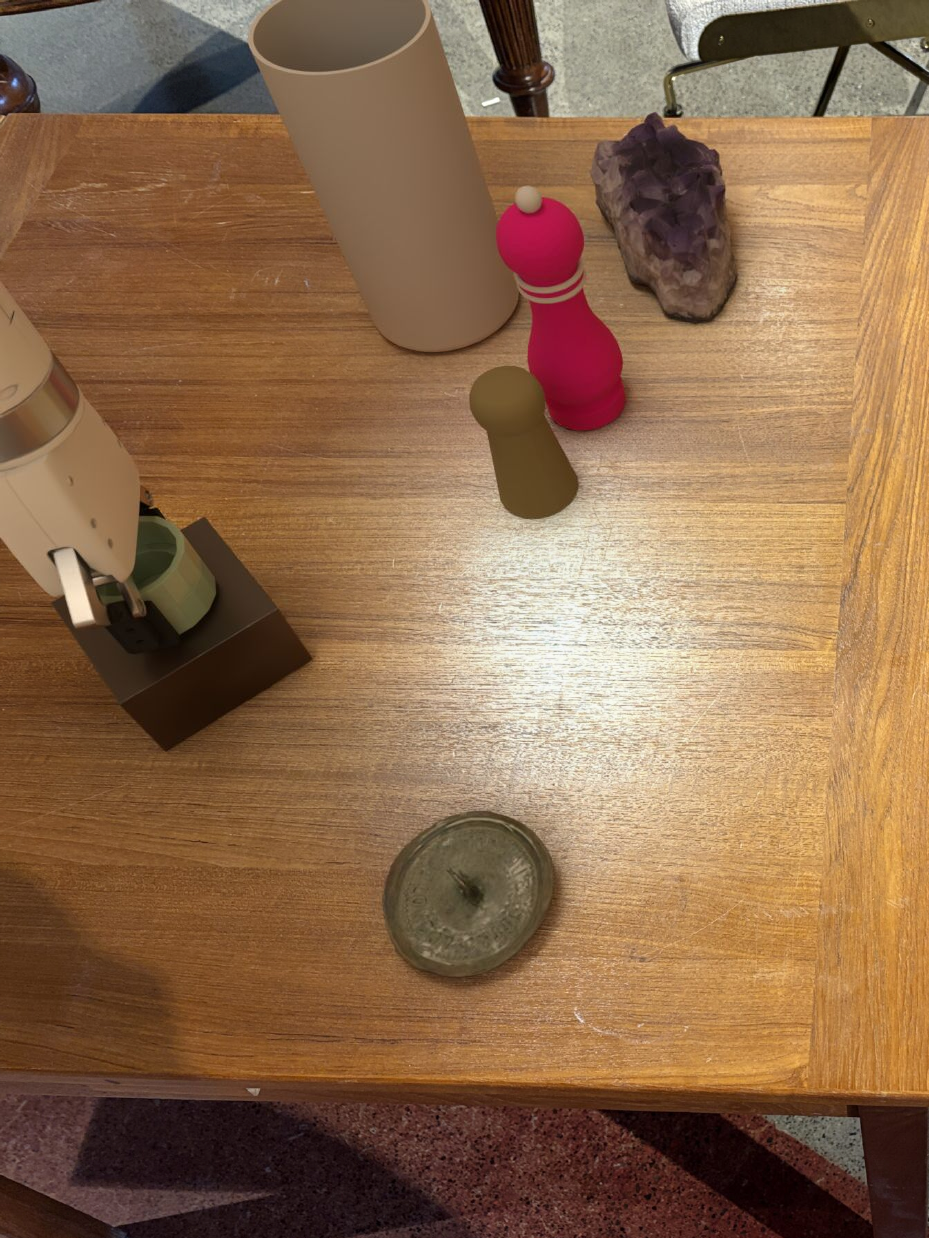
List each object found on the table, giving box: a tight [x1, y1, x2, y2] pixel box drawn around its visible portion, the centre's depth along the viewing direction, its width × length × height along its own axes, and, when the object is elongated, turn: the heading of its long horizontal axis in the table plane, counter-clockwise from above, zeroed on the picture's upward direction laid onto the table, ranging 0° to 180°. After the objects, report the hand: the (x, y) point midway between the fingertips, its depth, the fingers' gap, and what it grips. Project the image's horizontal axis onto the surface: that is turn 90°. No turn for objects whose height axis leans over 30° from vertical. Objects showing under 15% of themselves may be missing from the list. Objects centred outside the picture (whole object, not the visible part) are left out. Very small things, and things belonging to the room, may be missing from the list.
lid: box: [381, 810, 555, 979], centre depth 77 cm, size 11×10×5 cm
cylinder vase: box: [247, 0, 520, 353], centre depth 99 cm, size 12×12×25 cm
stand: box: [50, 516, 314, 752], centre depth 87 cm, size 11×11×6 cm
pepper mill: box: [496, 185, 627, 432], centre depth 95 cm, size 7×7×20 cm
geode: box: [589, 111, 739, 324], centre depth 110 cm, size 20×12×10 cm, turn 22°
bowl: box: [89, 516, 216, 635], centre depth 83 cm, size 7×7×5 cm
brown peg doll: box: [468, 365, 580, 520], centre depth 93 cm, size 6×6×11 cm
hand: (157, 597), depth 84 cm, fingers closed on bowl, 7 cm apart
